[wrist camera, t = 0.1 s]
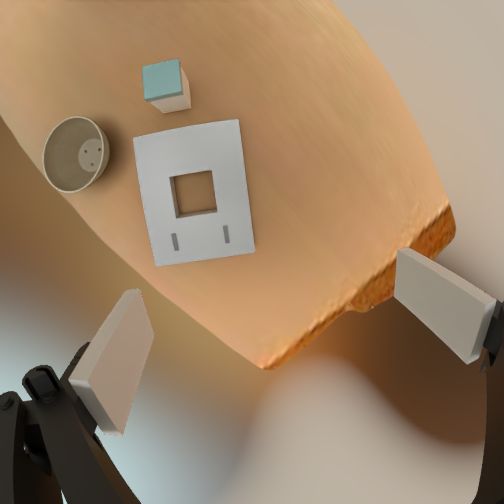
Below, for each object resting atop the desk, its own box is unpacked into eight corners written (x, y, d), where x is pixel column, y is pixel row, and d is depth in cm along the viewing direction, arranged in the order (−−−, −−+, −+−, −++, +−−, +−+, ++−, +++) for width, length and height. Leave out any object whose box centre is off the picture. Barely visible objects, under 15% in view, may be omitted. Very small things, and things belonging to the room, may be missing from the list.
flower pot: (136, 153, 36) (118, 152, 29) (92, 201, 37) (69, 209, 31) (98, 108, 33) (76, 100, 26) (57, 156, 34) (31, 157, 28)
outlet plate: (139, 139, 35) (132, 137, 32) (237, 122, 36) (238, 118, 33) (160, 259, 41) (155, 267, 38) (253, 246, 42) (255, 253, 39)
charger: (161, 88, 34) (142, 66, 24) (189, 82, 34) (178, 58, 24) (163, 114, 35) (144, 99, 25) (192, 108, 35) (181, 91, 25)
